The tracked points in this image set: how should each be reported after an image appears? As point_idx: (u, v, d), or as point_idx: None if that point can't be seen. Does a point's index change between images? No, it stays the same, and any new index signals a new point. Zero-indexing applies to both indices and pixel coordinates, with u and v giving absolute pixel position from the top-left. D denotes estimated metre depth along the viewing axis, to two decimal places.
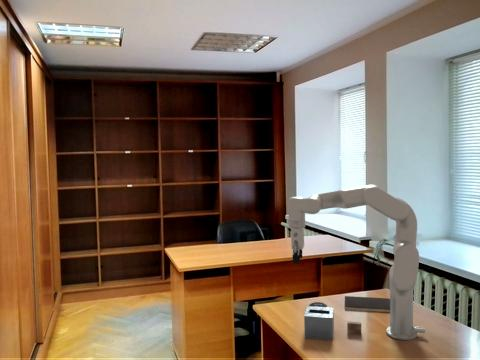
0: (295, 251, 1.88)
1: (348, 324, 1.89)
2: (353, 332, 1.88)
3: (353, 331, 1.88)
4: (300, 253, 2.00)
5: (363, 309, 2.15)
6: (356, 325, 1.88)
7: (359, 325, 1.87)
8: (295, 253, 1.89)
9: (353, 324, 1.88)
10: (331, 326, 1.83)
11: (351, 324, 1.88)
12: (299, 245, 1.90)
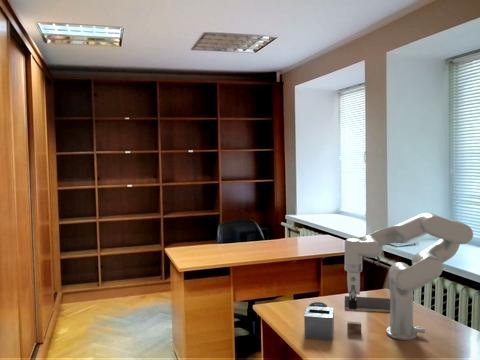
0: (353, 297, 1.80)
1: (348, 324, 1.89)
2: (353, 332, 1.88)
3: (353, 331, 1.88)
4: None
5: (363, 309, 2.15)
6: (356, 325, 1.88)
7: (359, 325, 1.87)
8: (353, 299, 1.81)
9: (353, 324, 1.88)
10: (331, 326, 1.83)
11: (351, 324, 1.88)
12: (356, 290, 1.82)
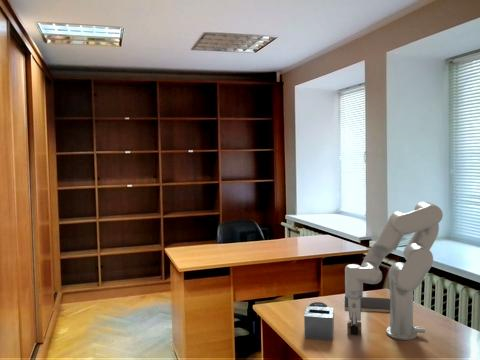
0: None
1: (348, 324, 1.89)
2: None
3: None
4: None
5: (363, 309, 2.15)
6: None
7: (359, 325, 1.87)
8: (354, 325, 1.86)
9: None
10: (331, 326, 1.83)
11: None
12: (358, 317, 1.83)
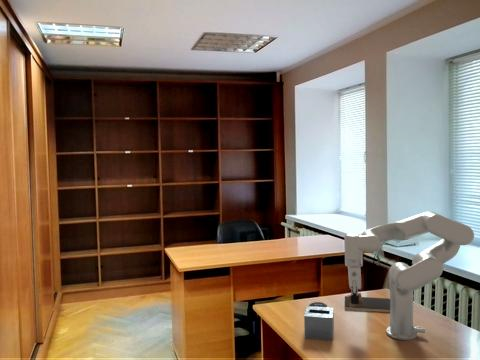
0: (354, 293, 1.84)
1: (348, 297, 1.88)
2: (355, 304, 1.87)
3: None
4: None
5: (363, 309, 2.15)
6: None
7: (359, 295, 1.86)
8: (354, 294, 1.85)
9: None
10: (331, 326, 1.83)
11: None
12: (358, 285, 1.82)
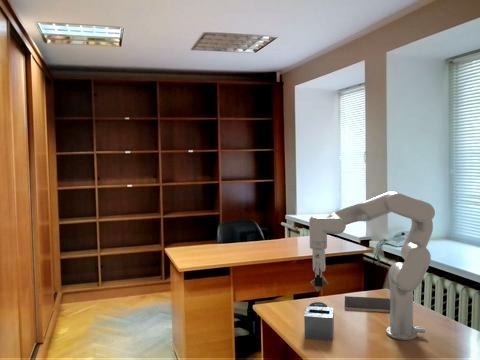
0: (318, 275, 1.84)
1: (312, 283, 1.88)
2: (320, 287, 1.87)
3: None
4: None
5: (363, 309, 2.15)
6: None
7: None
8: (318, 276, 1.85)
9: None
10: (331, 326, 1.83)
11: (314, 281, 1.88)
12: (321, 267, 1.83)
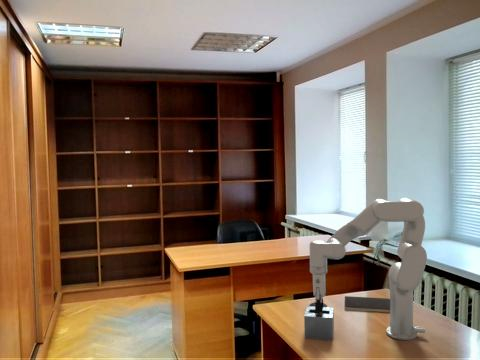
0: (318, 300, 1.84)
1: None
2: None
3: None
4: None
5: (363, 309, 2.15)
6: None
7: None
8: (318, 301, 1.85)
9: None
10: (331, 326, 1.83)
11: None
12: (321, 292, 1.83)
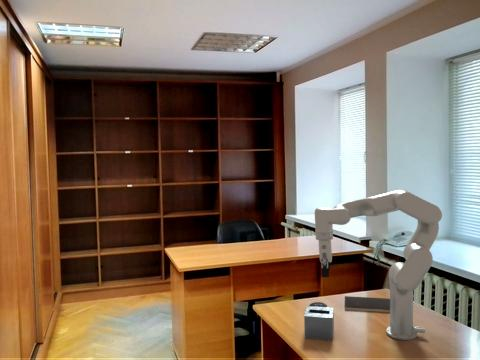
0: (324, 264, 1.81)
1: None
2: None
3: None
4: (327, 265, 1.93)
5: (363, 309, 2.15)
6: None
7: None
8: (324, 266, 1.82)
9: None
10: (331, 326, 1.83)
11: None
12: (328, 258, 1.83)
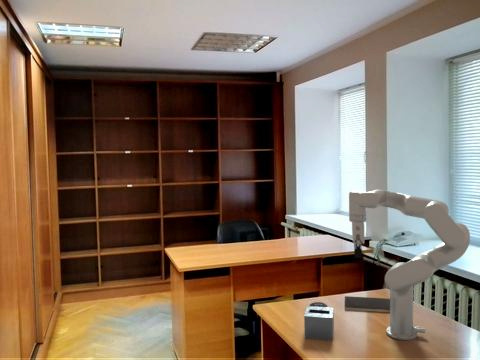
0: (358, 245, 1.87)
1: None
2: None
3: None
4: None
5: (363, 309, 2.15)
6: None
7: None
8: (358, 247, 1.88)
9: None
10: (331, 326, 1.83)
11: None
12: (361, 239, 1.89)
